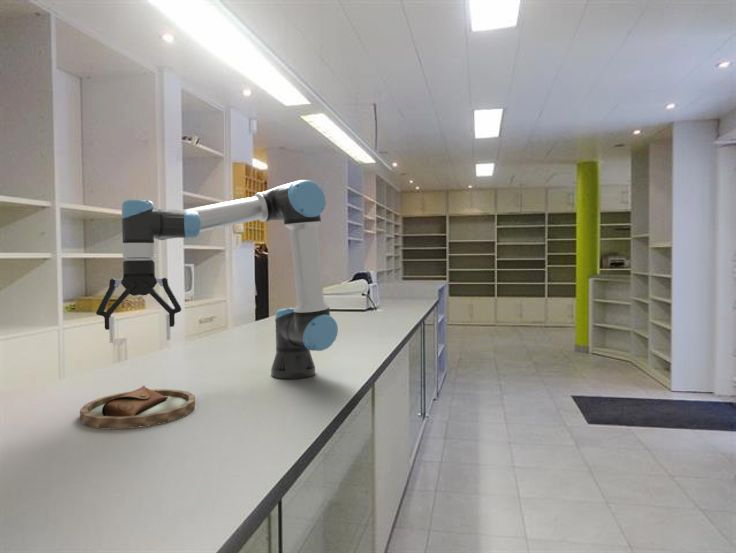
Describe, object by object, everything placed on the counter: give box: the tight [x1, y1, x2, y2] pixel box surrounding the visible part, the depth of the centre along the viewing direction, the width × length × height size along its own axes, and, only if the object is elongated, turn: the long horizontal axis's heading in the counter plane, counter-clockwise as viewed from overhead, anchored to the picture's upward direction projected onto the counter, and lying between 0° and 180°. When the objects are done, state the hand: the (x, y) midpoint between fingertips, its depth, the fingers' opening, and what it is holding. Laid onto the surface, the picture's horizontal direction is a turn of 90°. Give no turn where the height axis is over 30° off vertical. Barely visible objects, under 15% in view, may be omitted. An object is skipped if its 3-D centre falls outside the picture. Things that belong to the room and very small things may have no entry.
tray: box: [79, 388, 196, 430], centre depth 133 cm, size 27×27×2 cm
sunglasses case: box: [102, 385, 168, 417], centre depth 133 cm, size 18×7×7 cm
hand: (140, 340), depth 133 cm, fingers open, 13 cm apart
